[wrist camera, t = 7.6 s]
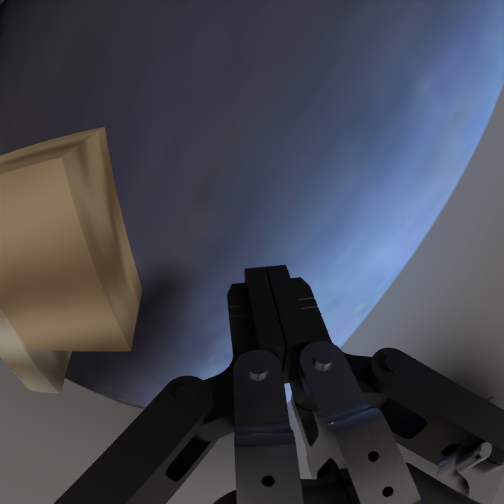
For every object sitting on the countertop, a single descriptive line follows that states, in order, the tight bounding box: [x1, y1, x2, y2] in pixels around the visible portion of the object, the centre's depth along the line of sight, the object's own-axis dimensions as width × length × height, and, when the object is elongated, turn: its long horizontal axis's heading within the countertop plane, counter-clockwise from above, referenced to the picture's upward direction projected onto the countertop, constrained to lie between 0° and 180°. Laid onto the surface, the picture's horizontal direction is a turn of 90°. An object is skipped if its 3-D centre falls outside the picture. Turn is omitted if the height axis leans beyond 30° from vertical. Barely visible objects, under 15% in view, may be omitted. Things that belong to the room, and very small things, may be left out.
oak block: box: [0, 127, 143, 351], centre depth 13 cm, size 10×7×5 cm
